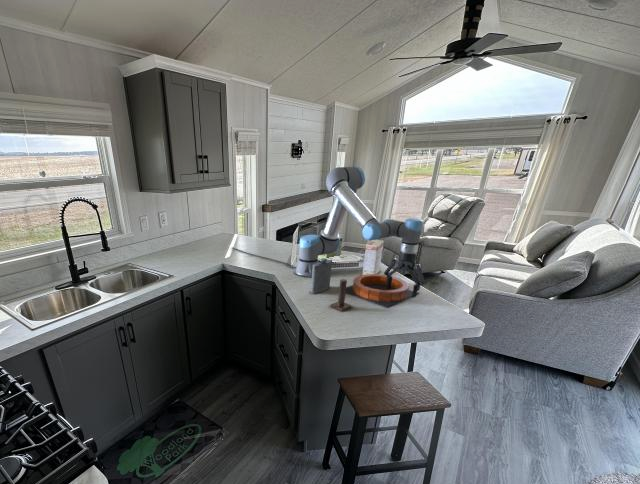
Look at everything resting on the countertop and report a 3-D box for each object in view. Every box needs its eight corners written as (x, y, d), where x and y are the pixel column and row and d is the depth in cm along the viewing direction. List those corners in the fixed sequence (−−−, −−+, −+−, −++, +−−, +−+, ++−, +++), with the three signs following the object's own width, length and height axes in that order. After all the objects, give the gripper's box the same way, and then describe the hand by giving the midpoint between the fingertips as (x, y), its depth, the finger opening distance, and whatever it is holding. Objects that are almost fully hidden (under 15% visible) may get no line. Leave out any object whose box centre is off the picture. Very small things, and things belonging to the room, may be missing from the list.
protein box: (314, 260, 230) (315, 239, 224) (329, 256, 238) (330, 235, 232) (325, 264, 222) (327, 241, 216) (340, 260, 230) (342, 238, 224)
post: (330, 306, 161) (332, 279, 155) (339, 302, 164) (342, 276, 159) (341, 311, 155) (344, 284, 150) (351, 307, 159) (354, 280, 153)
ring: (342, 289, 179) (343, 281, 177) (372, 279, 193) (373, 271, 191) (387, 306, 158) (388, 296, 156) (417, 292, 172) (419, 284, 170)
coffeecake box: (368, 268, 211) (372, 239, 203) (380, 270, 207) (384, 240, 199) (361, 275, 200) (365, 244, 192) (373, 277, 196) (378, 245, 188)
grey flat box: (331, 287, 183) (334, 256, 176) (315, 294, 175) (317, 262, 168) (326, 286, 186) (329, 255, 178) (309, 292, 178) (311, 260, 170)
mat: (340, 290, 179) (340, 289, 179) (371, 279, 193) (372, 278, 193) (387, 307, 158) (387, 306, 158) (418, 293, 172) (418, 292, 172)
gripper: (380, 247, 164) (374, 287, 173) (430, 259, 145) (421, 302, 154) (389, 245, 168) (382, 283, 177) (439, 256, 149) (429, 298, 158)
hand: (400, 292), depth 165 cm, fingers open, 13 cm apart
